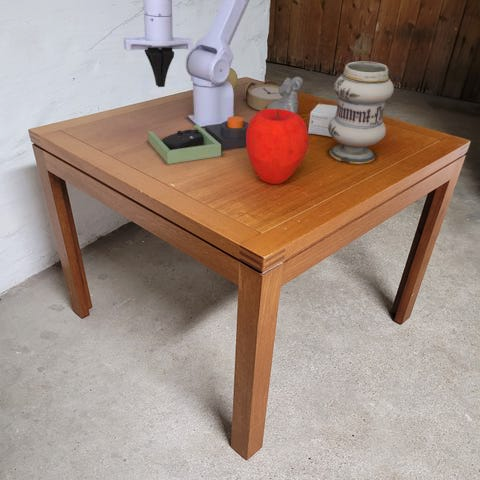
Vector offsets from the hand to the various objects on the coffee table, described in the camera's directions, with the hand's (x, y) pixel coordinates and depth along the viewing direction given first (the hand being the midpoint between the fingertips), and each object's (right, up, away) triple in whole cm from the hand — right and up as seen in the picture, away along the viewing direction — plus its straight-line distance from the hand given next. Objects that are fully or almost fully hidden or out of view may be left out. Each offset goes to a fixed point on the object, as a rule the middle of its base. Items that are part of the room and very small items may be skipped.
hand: (160, 85), depth 112 cm
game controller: (+5, -13, +1) cm, 14 cm away
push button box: (+16, -10, +4) cm, 19 cm away
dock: (+5, -14, 0) cm, 15 cm away
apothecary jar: (+42, -16, -1) cm, 45 cm away
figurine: (+28, -3, +14) cm, 31 cm away
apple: (+25, -24, -12) cm, 36 cm away
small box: (+39, -6, +11) cm, 41 cm away
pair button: (+17, -9, +1) cm, 19 cm away
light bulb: (+14, +4, +23) cm, 27 cm away
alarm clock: (+25, +7, +27) cm, 37 cm away
